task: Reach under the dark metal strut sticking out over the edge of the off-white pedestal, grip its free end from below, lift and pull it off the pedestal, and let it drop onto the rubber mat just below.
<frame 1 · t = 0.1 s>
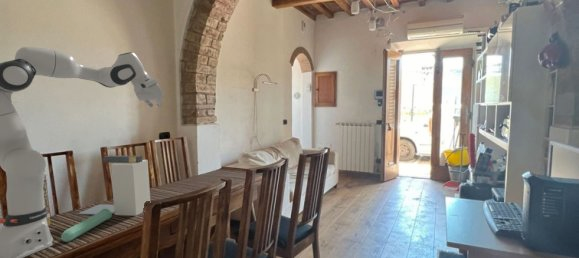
hand: (156, 106, 160), 54 cm above the table, tool tilted 30°, fingers open, 8 cm apart
mat: (104, 210, 159), on the table
mint green rounded rod: (87, 230, 134), on the table
paper tube: (41, 227, 138), on the table
pedestal: (133, 211, 156), on the table
strut: (122, 161, 155), point 26 cm above the table, touching pedestal
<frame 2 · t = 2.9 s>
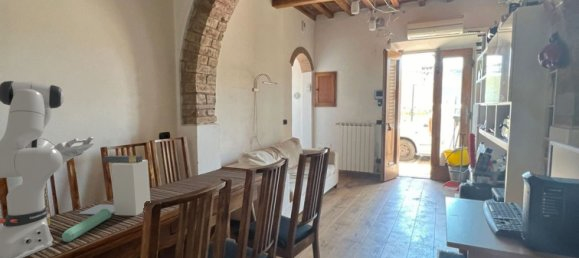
hand: (84, 138, 157), 38 cm above the table, tool pointing upward, fingers open, 8 cm apart
nothing on the table moved.
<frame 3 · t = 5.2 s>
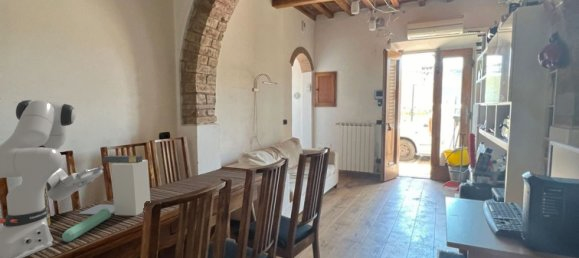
hand: (94, 168, 158), 22 cm above the table, tool pointing upward, fingers open, 8 cm apart
nothing on the table moved.
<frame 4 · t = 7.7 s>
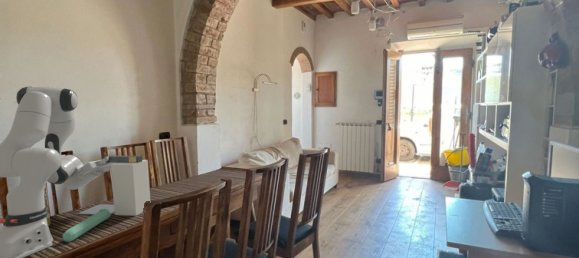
hand: (111, 157, 156), 28 cm above the table, tool pointing upward, fingers closed on strut, 3 cm apart
strut: (122, 161, 155), point 26 cm above the table, touching gripper, pedestal
everything else where it was.
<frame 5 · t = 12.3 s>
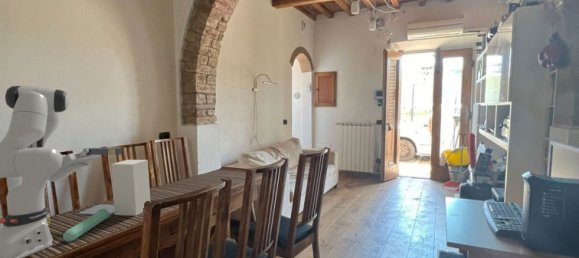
hand: (91, 149, 157), 33 cm above the table, tool pointing upward, fingers closed on strut, 3 cm apart
strut: (102, 154, 156), point 30 cm above the table, touching gripper
everything else where it was.
when the fingers open (20 cm above the table, at t = 16.4 s): strut drops 17 cm, resting on mat.
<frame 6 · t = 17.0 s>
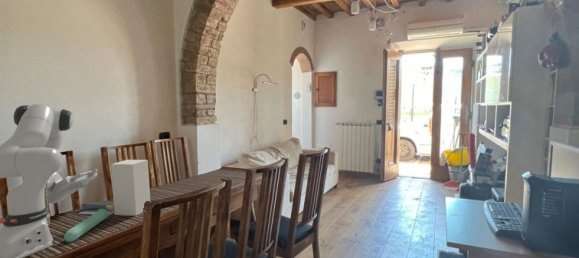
hand: (89, 172, 158), 20 cm above the table, tool pointing upward, fingers open, 8 cm apart
strut: (101, 209, 159), point 1 cm above the table, touching mat
everything else where it was.
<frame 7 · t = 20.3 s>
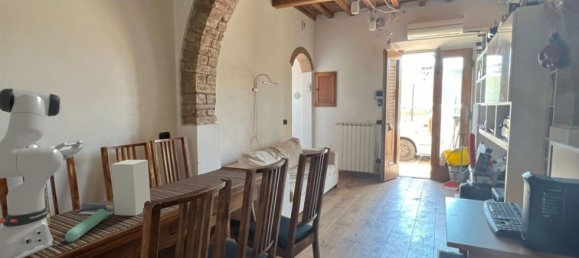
hand: (73, 142, 158), 36 cm above the table, tool pointing upward, fingers open, 8 cm apart
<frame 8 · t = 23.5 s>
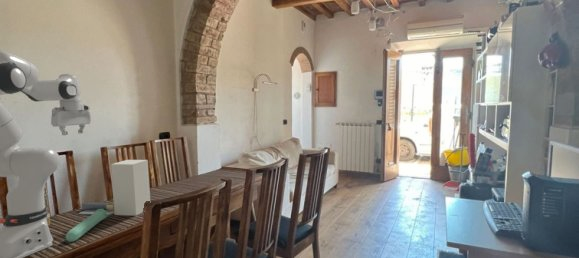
hand: (73, 134, 153), 41 cm above the table, tool pointing down, fingers open, 8 cm apart
at the end: strut inside the target area (0.9 cm from its centre), point 0.6 cm above the table; strut touching mat; the gripper is holding nothing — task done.
